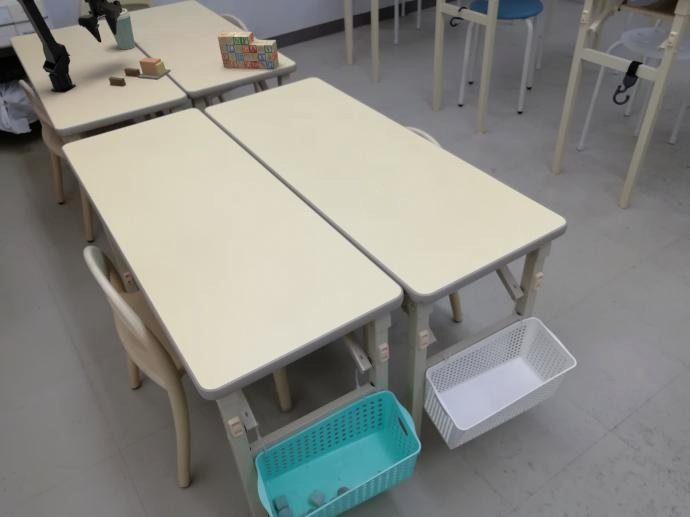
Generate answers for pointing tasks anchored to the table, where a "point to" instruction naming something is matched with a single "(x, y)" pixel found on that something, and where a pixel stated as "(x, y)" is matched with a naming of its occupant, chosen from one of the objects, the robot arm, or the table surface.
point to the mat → (153, 75)
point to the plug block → (152, 66)
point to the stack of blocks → (247, 51)
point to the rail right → (132, 72)
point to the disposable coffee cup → (124, 31)
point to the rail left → (117, 81)
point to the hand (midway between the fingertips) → (107, 38)
